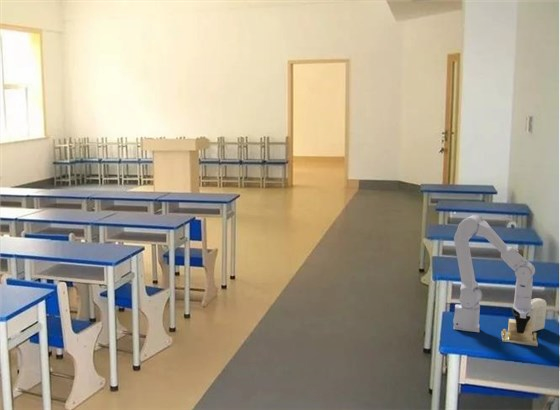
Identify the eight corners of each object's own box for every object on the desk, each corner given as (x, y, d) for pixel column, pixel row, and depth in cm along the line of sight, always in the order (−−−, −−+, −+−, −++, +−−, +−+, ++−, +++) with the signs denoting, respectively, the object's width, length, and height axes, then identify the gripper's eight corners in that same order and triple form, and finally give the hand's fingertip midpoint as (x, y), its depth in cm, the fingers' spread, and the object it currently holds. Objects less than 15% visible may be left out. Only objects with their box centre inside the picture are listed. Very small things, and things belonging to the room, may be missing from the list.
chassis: (502, 341, 216) (502, 333, 216) (501, 332, 225) (502, 324, 224) (537, 346, 213) (538, 337, 212) (535, 337, 221) (536, 329, 221)
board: (508, 337, 218) (509, 322, 217) (507, 333, 222) (509, 318, 221) (531, 340, 215) (532, 325, 214) (530, 336, 219) (532, 321, 218)
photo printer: (536, 325, 234) (539, 295, 232) (545, 328, 230) (549, 298, 228) (520, 330, 228) (523, 299, 226) (530, 333, 224) (533, 302, 222)
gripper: (536, 302, 208) (533, 339, 210) (533, 291, 221) (529, 325, 224) (515, 300, 210) (512, 336, 212) (513, 288, 224) (509, 322, 226)
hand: (519, 330), depth 218 cm, fingers open, 4 cm apart
